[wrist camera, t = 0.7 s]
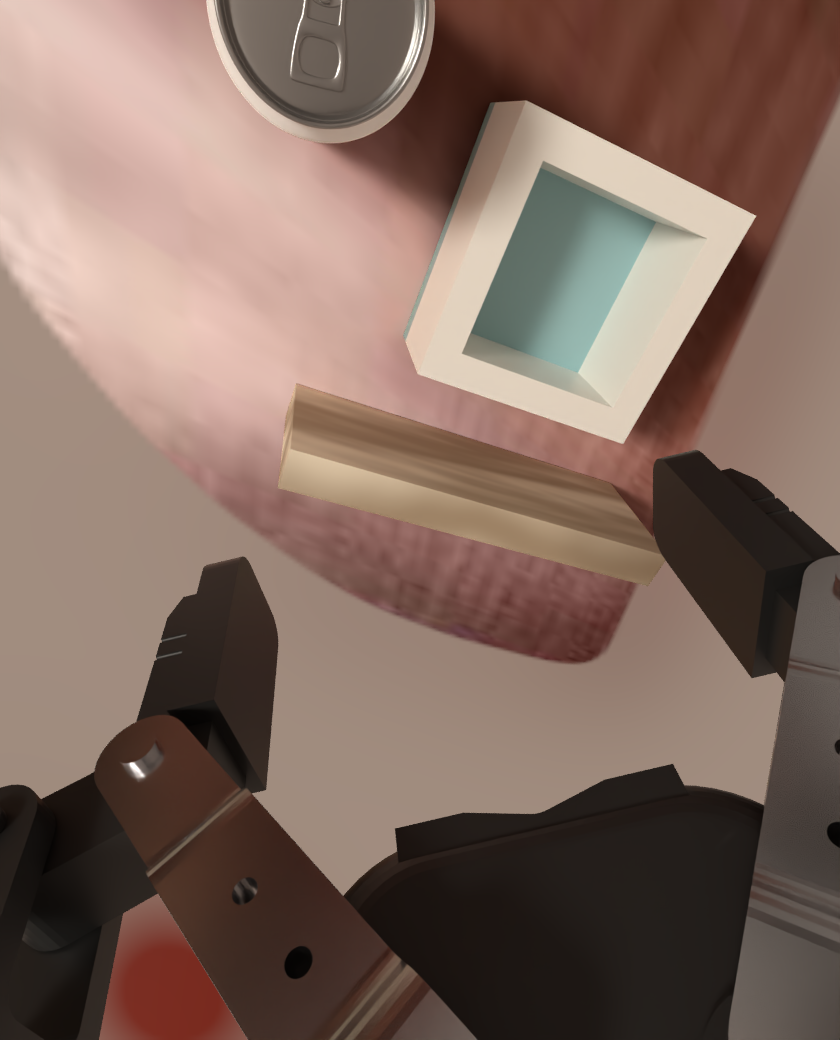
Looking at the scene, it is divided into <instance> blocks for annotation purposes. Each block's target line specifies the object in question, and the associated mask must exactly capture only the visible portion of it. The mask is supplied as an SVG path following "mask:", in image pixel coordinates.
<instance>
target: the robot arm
mask: <svg viewBox="0 0 840 1040" xmlns="http://www.w3.org/2000/svg"><path fill="white" fill-rule="evenodd" d="M653 530H654V536H655V540H656V543H657V546H658V548H659V550H660V552H661V554H662V556H663V557H664V559H665V560H666V561H667V563H668V564H669V565H670V567H671V568H672V570H673V571H674V572H675V574H676V575H677V576H678V578H679V579H680V580H681V582H682V583H683V584H684V586H685V587H686V589H687V590H688V591H689V593H690V594H691V595H692V597H693V598H694V600H695V601H696V602H697V604H698V605H699V607H700V608H701V609H702V611H703V612H704V613H705V615H706V616H707V618H708V619H709V620H710V621H711V623H712V624H713V626H714V627H715V628H716V630H717V631H718V633H719V634H720V635H721V637H722V638H723V639H724V640H725V642H726V644H727V645H728V646H729V648H730V649H731V650H732V652H733V653H734V655H735V656H736V657H737V659H738V660H739V661H740V663H741V664H742V665H743V667H744V668H745V669H746V671H747V672H748V674H749V675H750V676H751V678H754V677H759V676H763V675H767V674H771V673H776V672H777V673H778V674H779V676H780V677H781V678H782V680H783V681H784V682H785V683H784V689H783V694H782V700H781V706H780V712H779V718H778V724H777V730H776V736H775V742H774V748H773V754H772V759H771V765H770V771H769V777H768V783H767V789H766V795H765V800H764V805H762V804H760V803H757V802H755V801H753V800H751V799H748V798H745V797H743V796H739V795H737V794H734V793H731V792H727V791H722V790H718V789H713V788H707V787H700V786H685V785H684V784H683V782H682V781H681V779H680V777H679V775H678V773H677V771H676V769H675V768H674V765H673V764H671V765H666V766H662V767H657V768H653V769H650V770H645V771H640V772H636V773H632V774H627V775H623V776H619V777H615V778H610V779H606V780H603V781H601V782H600V783H598V784H596V785H594V786H592V787H590V788H588V789H586V790H584V791H582V792H580V793H579V794H577V795H575V796H573V797H571V798H569V799H567V800H565V801H563V802H562V803H560V804H558V805H556V806H554V807H552V808H550V809H548V810H546V811H544V812H541V813H537V814H499V813H498V814H497V813H461V814H456V815H452V816H448V817H443V818H439V819H435V820H430V821H426V822H422V823H418V824H413V825H409V826H405V827H400V828H396V829H395V833H396V843H397V852H396V853H394V854H392V855H390V856H388V857H387V858H385V859H384V860H382V861H381V862H379V863H378V864H376V865H375V866H374V867H372V868H371V869H370V870H369V871H368V872H366V873H365V874H364V875H363V876H362V877H361V878H359V880H357V882H356V883H355V884H354V885H353V886H352V887H351V888H350V889H349V890H348V891H347V892H346V893H345V895H344V896H343V895H342V894H341V893H340V892H339V891H338V889H337V888H336V887H335V886H334V885H333V884H332V883H331V882H330V881H329V879H328V878H327V877H326V876H325V875H324V874H323V873H322V872H321V870H320V869H319V868H318V867H317V866H316V865H315V864H314V863H313V862H312V861H311V859H310V858H309V857H308V856H307V855H306V854H305V853H304V851H303V850H302V849H301V848H300V847H299V846H298V845H297V844H296V842H295V841H294V840H293V839H292V838H291V837H290V836H289V835H288V834H287V832H286V831H285V830H284V829H283V828H282V827H281V826H280V825H279V823H278V822H277V821H276V820H275V819H274V818H273V817H272V816H271V814H269V812H268V811H267V810H266V809H265V808H264V807H263V805H262V804H260V802H259V801H258V800H257V799H256V798H255V797H254V796H253V794H252V793H255V792H260V791H264V790H266V784H267V772H268V760H269V748H270V737H271V725H272V713H273V701H274V689H275V676H276V666H277V653H278V634H277V628H276V624H275V620H274V617H273V615H272V612H271V610H270V608H269V605H268V603H267V601H266V599H265V596H264V594H263V592H262V590H261V588H260V585H259V583H258V581H257V579H256V576H255V574H254V572H253V569H252V567H251V565H250V563H249V561H248V560H247V559H246V558H245V557H239V558H235V559H231V560H227V561H222V562H218V563H214V564H209V565H206V566H205V567H204V568H203V571H202V575H201V579H200V583H199V587H198V591H197V594H195V595H190V596H186V597H183V599H182V600H181V601H180V602H179V604H178V605H177V606H176V608H175V609H174V610H173V612H172V613H171V614H170V615H169V617H168V618H167V621H166V625H165V628H164V631H163V635H162V638H161V640H162V643H160V645H159V648H158V651H157V655H156V658H157V660H155V661H154V665H153V668H152V671H151V675H150V678H149V681H148V685H147V688H146V692H145V695H144V698H143V701H142V705H141V708H140V711H139V715H138V718H137V721H136V722H135V723H133V724H131V725H130V726H128V727H126V728H125V729H123V730H122V731H121V732H120V733H118V734H117V735H116V736H115V737H114V738H113V739H112V740H111V741H110V742H109V743H108V744H107V746H106V747H105V748H104V750H103V751H102V753H101V754H100V756H99V758H98V760H97V763H96V766H95V771H94V772H93V773H91V774H90V775H88V776H86V777H84V778H82V779H80V780H78V781H76V782H74V783H72V784H70V785H68V786H66V787H64V788H63V789H60V790H58V791H56V792H54V793H53V794H51V795H49V796H47V797H45V798H43V799H40V798H39V797H38V795H37V794H36V793H35V792H34V791H33V790H32V789H30V788H29V787H26V786H24V785H9V786H5V787H1V788H0V1040H99V1036H100V1030H101V1025H102V1020H103V1015H104V1009H105V1004H106V999H107V994H108V989H109V983H110V978H111V973H112V968H113V962H114V957H115V951H116V947H117V942H118V937H119V931H120V926H121V921H122V916H123V913H124V912H126V911H128V910H130V909H131V908H133V907H135V906H137V905H138V904H140V903H142V902H144V901H145V900H147V899H149V898H151V897H152V896H154V895H156V894H159V896H160V898H161V899H162V901H163V903H164V904H165V906H166V907H167V909H168V910H169V912H170V914H171V916H172V917H173V919H174V920H175V922H176V924H177V925H178V926H179V928H180V930H181V932H182V933H183V935H184V937H185V938H186V940H187V941H188V943H189V945H190V946H191V948H192V950H193V951H194V953H195V955H196V956H197V958H198V959H199V961H200V963H201V964H202V966H203V968H204V969H205V971H206V972H207V974H208V976H209V977H210V979H211V981H212V982H213V984H214V985H215V987H216V989H217V990H218V992H219V994H220V995H221V997H222V998H223V1000H224V1002H225V1003H226V1005H227V1007H228V1008H229V1010H230V1011H231V1013H232V1014H233V1016H234V1018H235V1020H236V1021H237V1023H238V1024H239V1026H240V1028H241V1029H242V1031H243V1032H244V1034H245V1036H246V1037H247V1039H248V1040H840V553H839V552H838V551H836V550H835V549H834V548H833V547H832V546H831V545H830V544H829V543H828V542H826V541H825V540H824V539H823V538H822V537H821V536H820V535H819V534H817V533H816V532H815V531H814V530H813V529H812V528H811V527H810V526H809V525H807V524H806V523H805V522H804V521H803V520H802V519H801V518H800V517H798V516H797V515H796V514H795V513H794V512H793V511H792V512H790V511H789V508H788V507H787V506H786V505H785V504H784V503H783V502H782V501H781V500H779V499H778V498H776V499H775V496H774V494H773V493H772V492H770V491H769V490H768V489H767V488H766V487H765V486H764V485H763V484H762V483H760V482H759V481H758V480H757V479H754V478H752V477H750V476H748V475H745V474H743V473H741V472H738V471H736V470H734V469H731V468H730V469H726V470H722V471H720V470H719V469H718V468H717V467H716V466H715V465H714V464H713V463H712V462H711V461H710V460H709V459H708V458H707V457H705V455H704V454H703V453H701V452H700V451H698V450H693V451H689V452H685V453H680V454H676V455H672V456H668V457H664V458H659V459H657V460H656V461H655V463H654V467H653Z"/></svg>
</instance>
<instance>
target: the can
mask: <svg viewBox="0 0 840 1040" xmlns="http://www.w3.org/2000/svg"><path fill="white" fill-rule="evenodd" d="M206 1H207V10H208V17H209V22H210V27H211V31H212V34H213V38H214V41H215V45H216V47H217V50H218V53H219V55H220V58H221V60H222V62H223V65H224V67H225V69H226V71H227V72H228V74H229V76H230V78H231V79H232V81H233V83H234V84H235V86H236V87H237V89H238V90H239V91H240V93H241V94H242V95H243V97H244V98H245V99H246V100H247V102H248V103H249V104H250V105H251V106H252V107H253V108H254V109H255V110H256V111H257V112H258V113H259V114H260V115H261V116H263V117H264V118H265V119H266V120H268V121H269V122H270V123H272V124H273V125H275V126H276V127H278V128H279V129H281V130H283V131H285V132H287V133H289V134H291V135H293V136H296V137H298V138H301V139H304V140H308V141H313V142H318V143H343V142H349V141H353V140H357V139H360V138H363V137H365V136H368V135H370V134H372V133H374V132H375V131H377V130H379V129H380V128H382V127H383V126H385V125H386V124H387V123H389V122H390V121H391V120H392V119H393V118H394V117H395V116H396V115H397V114H398V113H399V112H400V111H401V110H402V109H403V108H404V106H405V105H406V104H407V102H408V101H409V100H410V98H411V97H412V95H413V93H414V92H415V90H416V88H417V86H418V84H419V82H420V80H421V78H422V76H423V73H424V71H425V68H426V65H427V62H428V59H429V55H430V51H431V46H432V41H433V34H434V23H435V2H434V0H206Z"/></svg>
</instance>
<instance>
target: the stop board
mask: <svg viewBox="0 0 840 1040" xmlns="http://www.w3.org/2000/svg"><path fill="white" fill-rule="evenodd" d="M278 488H280V489H284V490H288V491H291V492H295V493H299V494H303V495H306V496H310V497H314V498H318V499H321V500H325V501H329V502H333V503H337V504H340V505H344V506H348V507H352V508H355V509H359V510H363V511H367V512H370V513H374V514H378V515H382V516H386V517H389V518H393V519H397V520H401V521H404V522H408V523H412V524H416V525H419V526H423V527H427V528H431V529H435V530H438V531H442V532H446V533H450V534H453V535H457V536H461V537H465V538H468V539H472V540H476V541H480V542H484V543H487V544H491V545H495V546H499V547H502V548H506V549H510V550H514V551H517V552H521V553H525V554H529V555H532V556H536V557H540V558H544V559H548V560H551V561H555V562H559V563H563V564H566V565H570V566H574V567H578V568H581V569H585V570H589V571H593V572H597V573H600V574H604V575H608V576H612V577H615V578H619V579H623V580H627V581H630V582H634V583H638V584H642V585H646V586H648V585H649V584H650V582H651V581H652V580H653V578H654V577H655V575H656V574H657V572H658V571H659V569H660V568H661V566H662V565H663V563H664V562H665V559H664V557H663V556H662V554H661V552H660V550H659V548H658V546H657V543H656V541H655V539H654V538H653V537H652V535H651V534H650V533H649V532H648V530H647V529H646V528H645V527H644V525H643V524H642V523H641V521H640V520H639V519H638V518H637V516H636V515H635V514H634V513H633V511H632V510H631V509H630V507H629V506H628V505H627V504H626V502H625V501H624V500H623V499H622V497H621V496H620V495H619V493H618V492H617V491H616V490H615V488H614V487H613V486H612V485H611V483H609V482H606V481H602V480H599V479H596V478H593V477H590V476H587V475H583V474H580V473H577V472H574V471H571V470H568V469H564V468H561V467H558V466H555V465H552V464H549V463H545V462H542V461H539V460H536V459H533V458H530V457H527V456H523V455H520V454H517V453H514V452H511V451H508V450H504V449H501V448H498V447H495V446H492V445H489V444H485V443H482V442H479V441H476V440H473V439H470V438H466V437H463V436H460V435H457V434H454V433H451V432H447V431H444V430H441V429H438V428H435V427H432V426H429V425H425V424H422V423H419V422H416V421H413V420H410V419H406V418H403V417H400V416H397V415H394V414H391V413H387V412H384V411H381V410H378V409H375V408H372V407H368V406H365V405H362V404H359V403H356V402H353V401H350V400H346V399H343V398H340V397H337V396H334V395H331V394H327V393H324V392H321V391H318V390H315V389H312V388H308V387H305V386H302V385H299V384H296V385H295V389H294V392H293V395H292V398H291V402H290V405H289V408H288V412H287V415H286V420H285V429H284V438H283V447H282V456H281V465H280V474H279V483H278Z"/></svg>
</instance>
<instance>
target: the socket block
mask: <svg viewBox="0 0 840 1040" xmlns="http://www.w3.org/2000/svg"><path fill="white" fill-rule="evenodd" d="M755 217H756V216H755V215H753V214H751V213H749V212H747V211H745V210H743V209H741V208H739V207H737V206H735V205H733V204H731V203H729V202H727V201H725V200H723V199H721V198H719V197H717V196H715V195H713V194H711V193H709V192H707V191H705V190H703V189H701V188H699V187H697V186H695V185H693V184H691V183H689V182H688V181H686V180H684V179H682V178H680V177H678V176H676V175H674V174H672V173H670V172H668V171H666V170H664V169H662V168H660V167H658V166H656V165H654V164H652V163H650V162H648V161H646V160H644V159H642V158H640V157H638V156H636V155H634V154H632V153H630V152H628V151H626V150H624V149H622V148H620V147H618V146H616V145H614V144H612V143H610V142H608V141H606V140H604V139H602V138H600V137H598V136H596V135H594V134H592V133H590V132H588V131H586V130H584V129H582V128H580V127H578V126H576V125H574V124H572V123H570V122H568V121H566V120H564V119H562V118H560V117H558V116H556V115H554V114H552V113H550V112H548V111H546V110H544V109H542V108H540V107H538V106H536V105H534V104H532V103H530V102H528V101H526V100H525V101H510V102H494V103H490V105H489V108H488V110H487V113H486V116H485V118H484V121H483V124H482V126H481V129H480V132H479V134H478V137H477V140H476V142H475V145H474V148H473V150H472V153H471V156H470V158H469V161H468V164H467V166H466V169H465V172H464V174H463V177H462V180H461V182H460V185H459V188H458V190H457V193H456V196H455V198H454V201H453V204H452V206H451V209H450V212H449V214H448V217H447V220H446V223H445V225H444V228H443V231H442V233H441V236H440V239H439V241H438V244H437V247H436V249H435V252H434V255H433V257H432V260H431V263H430V265H429V268H428V271H427V273H426V276H425V279H424V281H423V284H422V287H421V289H420V292H419V295H418V297H417V300H416V303H415V305H414V308H413V311H412V313H411V316H410V319H409V321H408V324H407V327H406V329H405V332H404V335H403V336H404V339H405V341H406V344H407V347H408V349H409V352H410V355H411V357H412V360H413V363H414V365H415V368H416V371H417V373H418V374H419V375H422V376H425V377H428V378H431V379H433V380H436V381H439V382H442V383H445V384H448V385H451V386H454V387H457V388H460V389H463V390H466V391H469V392H472V393H475V394H478V395H481V396H483V397H486V398H489V399H492V400H495V401H498V402H501V403H504V404H507V405H510V406H513V407H516V408H519V409H522V410H525V411H528V412H530V413H533V414H536V415H539V416H542V417H545V418H548V419H551V420H554V421H557V422H560V423H563V424H566V425H569V426H572V427H575V428H578V429H580V430H583V431H586V432H589V433H592V434H595V435H598V436H601V437H604V438H607V439H610V440H613V441H616V442H619V443H622V444H623V443H624V442H625V440H626V438H627V436H628V435H629V433H630V431H631V430H632V428H633V426H634V424H635V423H636V421H637V419H638V418H639V416H640V414H641V412H642V411H643V409H644V407H645V406H646V404H647V402H648V400H649V399H650V397H651V395H652V394H653V392H654V390H655V388H656V387H657V385H658V383H659V382H660V380H661V378H662V376H663V375H664V373H665V371H666V370H667V368H668V366H669V364H670V363H671V361H672V359H673V358H674V356H675V354H676V352H677V351H678V349H679V347H680V346H681V344H682V342H683V340H684V339H685V337H686V335H687V334H688V332H689V330H690V328H691V327H692V325H693V323H694V322H695V320H696V318H697V316H698V315H699V313H700V311H701V310H702V308H703V306H704V304H705V303H706V301H707V299H708V298H709V296H710V294H711V292H712V291H713V289H714V287H715V286H716V284H717V282H718V280H719V279H720V277H721V275H722V274H723V272H724V270H725V268H726V267H727V265H728V263H729V262H730V260H731V258H732V256H733V255H734V253H735V251H736V250H737V248H738V246H739V244H740V243H741V241H742V239H743V238H744V236H745V234H746V232H747V231H748V229H749V227H750V226H751V224H752V222H753V220H754V219H755Z"/></svg>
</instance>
